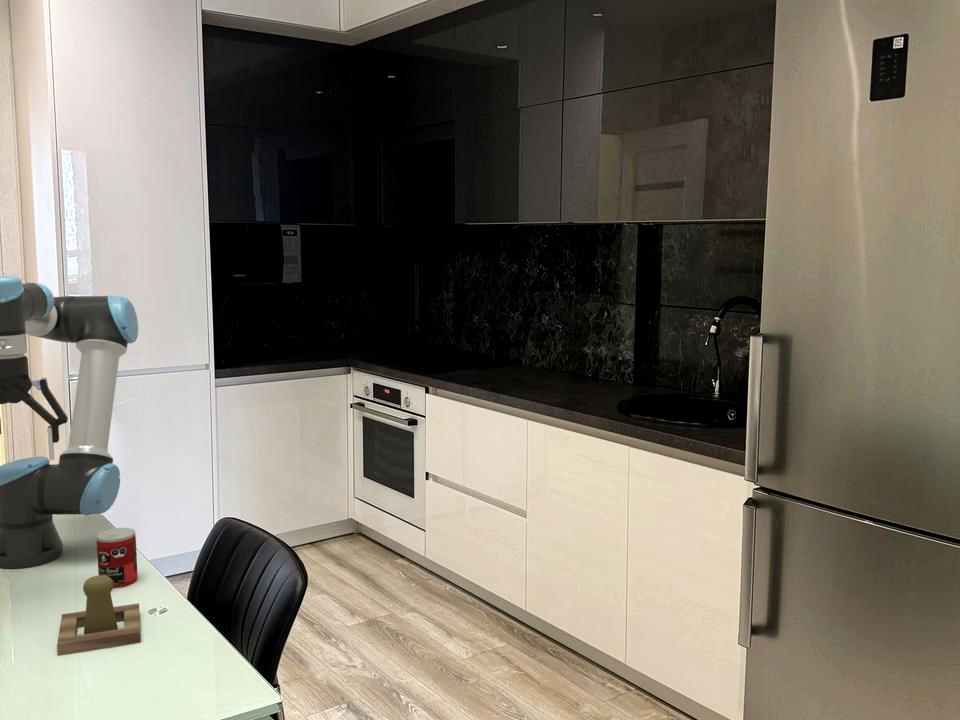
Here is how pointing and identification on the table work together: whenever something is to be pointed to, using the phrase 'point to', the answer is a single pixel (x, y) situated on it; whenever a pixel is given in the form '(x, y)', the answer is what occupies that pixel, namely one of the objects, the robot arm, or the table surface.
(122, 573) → the canned food
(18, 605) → the table surface
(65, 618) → the socket plate
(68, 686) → the table surface
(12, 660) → the table surface
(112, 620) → the cork
